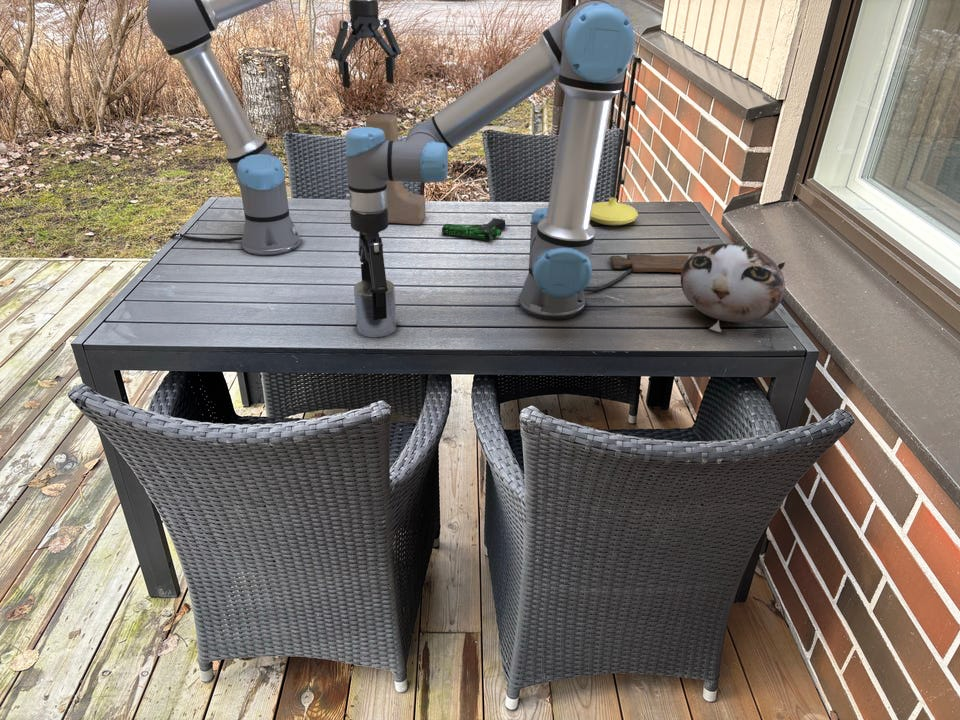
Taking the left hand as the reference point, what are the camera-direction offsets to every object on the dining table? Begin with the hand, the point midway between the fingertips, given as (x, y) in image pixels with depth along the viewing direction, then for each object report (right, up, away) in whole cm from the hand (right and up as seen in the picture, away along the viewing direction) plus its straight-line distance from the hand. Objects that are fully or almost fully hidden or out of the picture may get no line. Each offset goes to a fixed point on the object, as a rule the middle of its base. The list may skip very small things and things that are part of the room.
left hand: (368, 85), depth 198 cm
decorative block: (+6, -34, +18) cm, 39 cm away
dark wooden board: (+78, -52, -10) cm, 94 cm away
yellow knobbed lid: (+71, -34, +19) cm, 81 cm away
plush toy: (+87, -67, -35) cm, 115 cm away
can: (+8, -69, -41) cm, 81 cm away
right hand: (+8, -64, -44) cm, 79 cm away
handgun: (+30, -39, +10) cm, 50 cm away
